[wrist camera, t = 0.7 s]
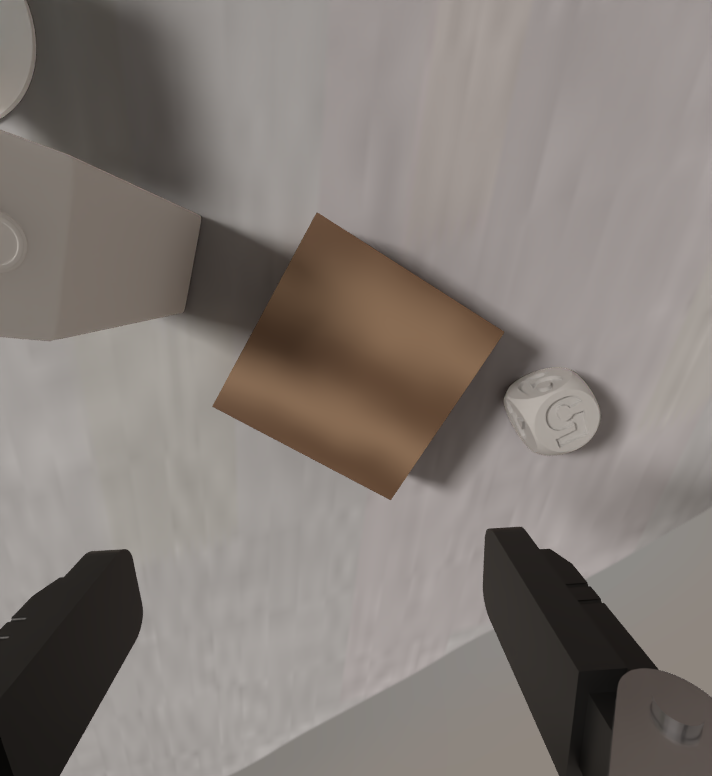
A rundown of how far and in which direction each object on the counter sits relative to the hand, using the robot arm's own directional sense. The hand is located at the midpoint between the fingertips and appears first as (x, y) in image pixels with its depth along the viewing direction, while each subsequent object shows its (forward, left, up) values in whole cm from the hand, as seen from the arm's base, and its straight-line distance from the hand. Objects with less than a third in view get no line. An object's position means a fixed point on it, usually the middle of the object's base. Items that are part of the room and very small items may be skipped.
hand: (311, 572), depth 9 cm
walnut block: (-1, +1, -25) cm, 25 cm away
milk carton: (0, -16, -24) cm, 29 cm away
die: (-5, +16, -24) cm, 30 cm away
